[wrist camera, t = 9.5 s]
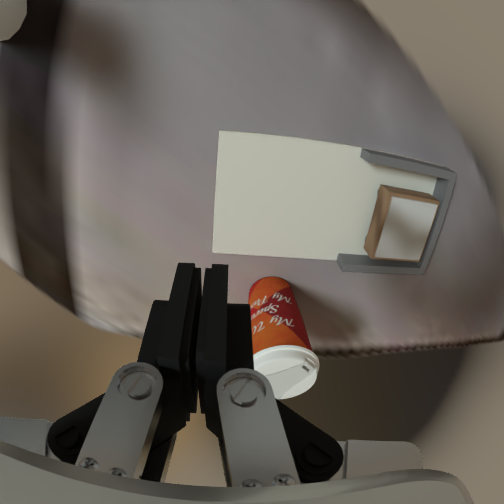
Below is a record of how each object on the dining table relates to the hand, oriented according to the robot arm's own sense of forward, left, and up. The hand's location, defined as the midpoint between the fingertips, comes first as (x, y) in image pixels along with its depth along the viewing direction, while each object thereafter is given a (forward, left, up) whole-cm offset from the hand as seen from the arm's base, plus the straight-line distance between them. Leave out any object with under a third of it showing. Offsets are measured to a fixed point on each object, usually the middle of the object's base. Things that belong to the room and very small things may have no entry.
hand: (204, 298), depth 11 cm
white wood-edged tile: (+5, +20, -23) cm, 31 cm away
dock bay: (+5, +13, -24) cm, 27 cm away
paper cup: (+18, +7, -24) cm, 31 cm away
